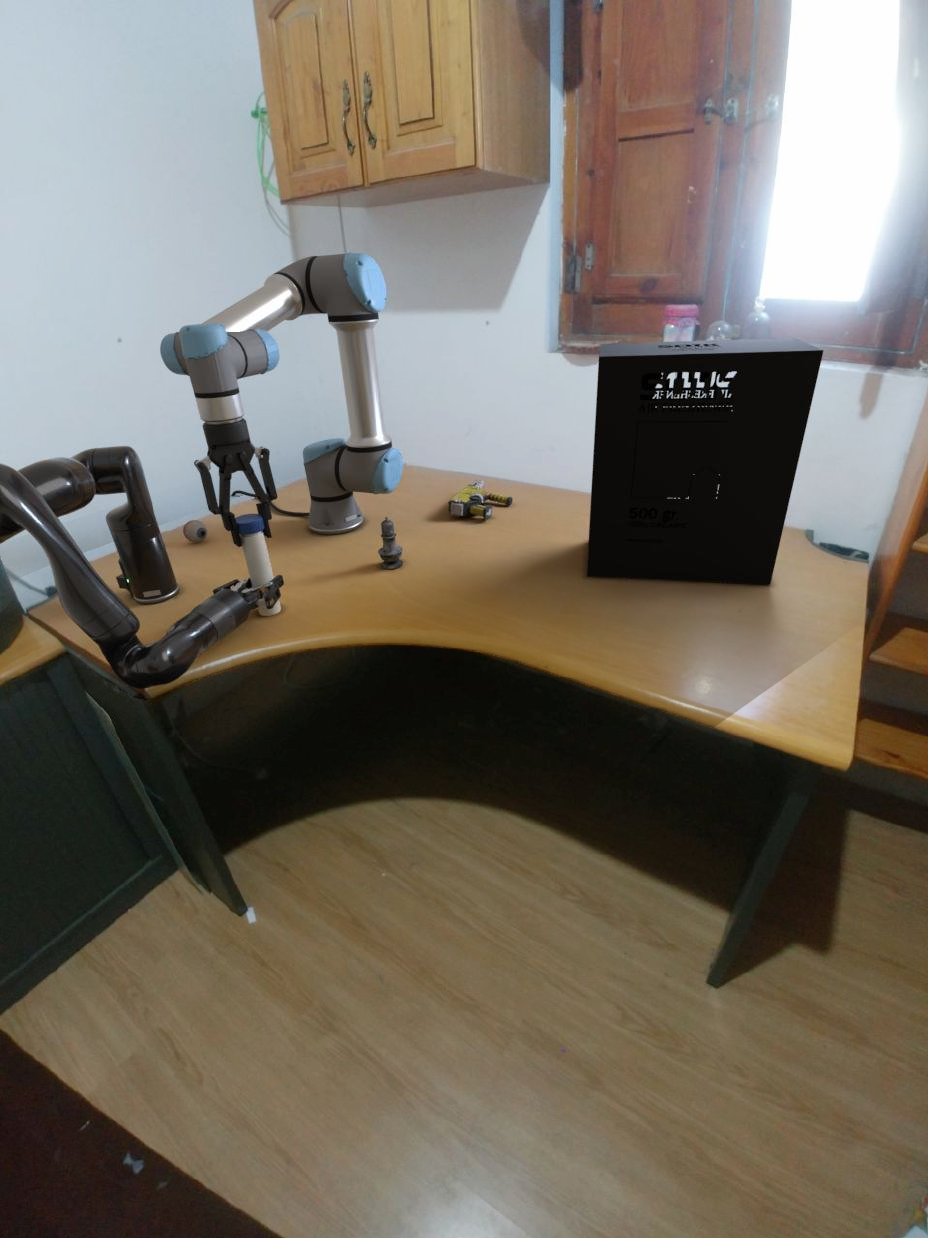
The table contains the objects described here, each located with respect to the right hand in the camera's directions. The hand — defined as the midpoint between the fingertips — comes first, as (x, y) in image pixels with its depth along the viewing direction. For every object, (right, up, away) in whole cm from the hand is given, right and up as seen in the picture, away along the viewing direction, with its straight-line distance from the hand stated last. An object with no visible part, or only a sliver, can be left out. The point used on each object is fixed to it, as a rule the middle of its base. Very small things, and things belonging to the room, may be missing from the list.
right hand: (252, 540), depth 119 cm
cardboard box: (+90, -3, +19) cm, 91 cm away
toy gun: (+48, +17, +57) cm, 76 cm away
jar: (+1, -14, +8) cm, 16 cm away
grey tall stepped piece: (+25, -3, +25) cm, 35 cm away
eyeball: (-30, +5, +44) cm, 54 cm away
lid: (0, +4, -2) cm, 4 cm away
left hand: (+1, -7, +7) cm, 10 cm away
